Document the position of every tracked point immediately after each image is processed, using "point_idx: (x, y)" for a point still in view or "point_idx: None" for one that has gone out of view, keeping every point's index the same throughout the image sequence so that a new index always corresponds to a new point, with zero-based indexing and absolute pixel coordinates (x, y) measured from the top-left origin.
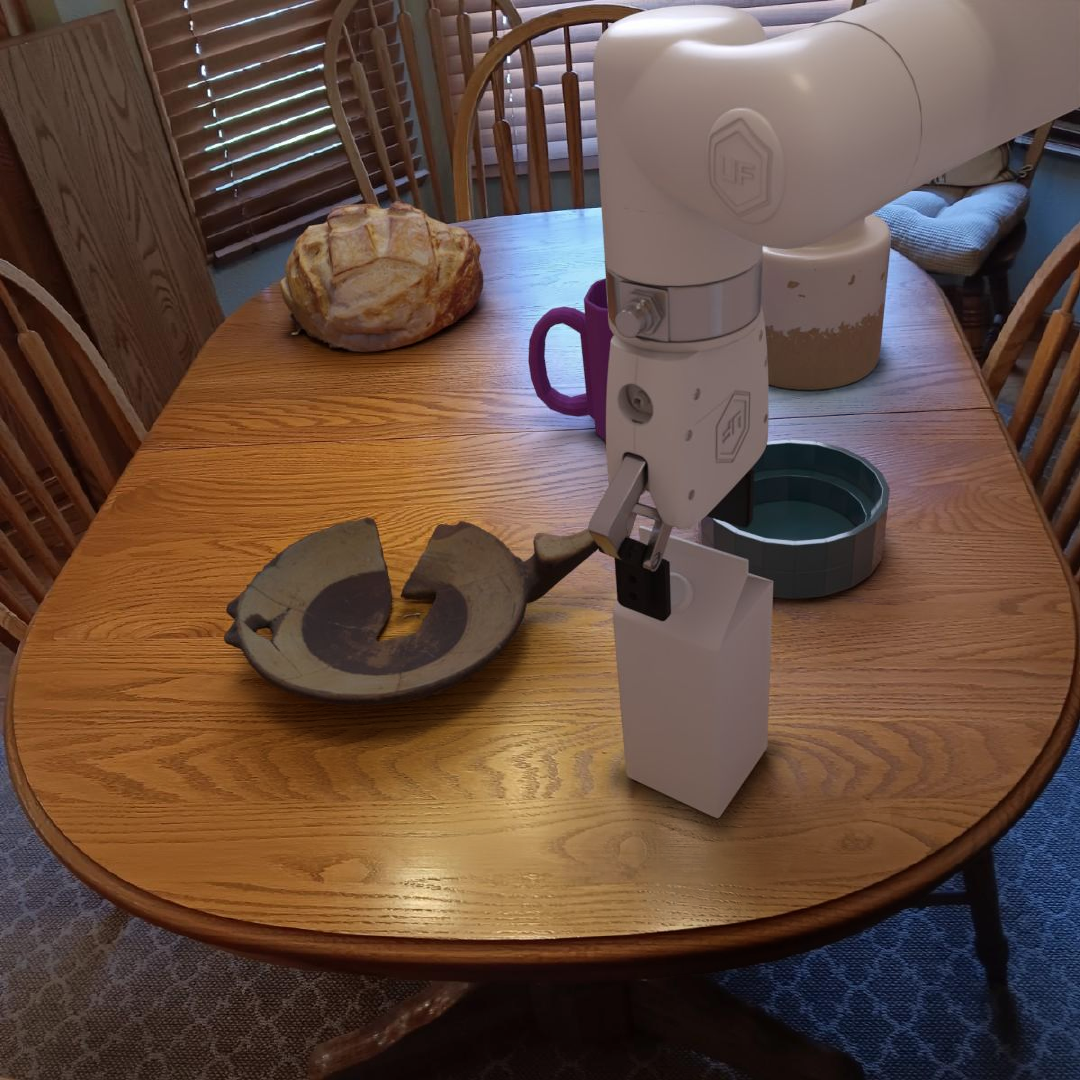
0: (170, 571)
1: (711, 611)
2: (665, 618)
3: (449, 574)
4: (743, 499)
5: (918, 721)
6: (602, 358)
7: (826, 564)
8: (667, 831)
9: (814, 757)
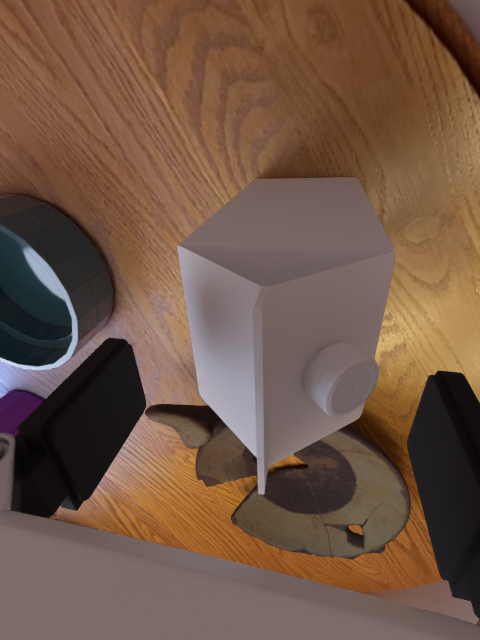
0: (311, 561)
1: (342, 304)
2: (464, 376)
3: (236, 459)
4: (93, 388)
5: (139, 52)
6: None
7: (44, 230)
8: (387, 213)
9: (240, 131)
